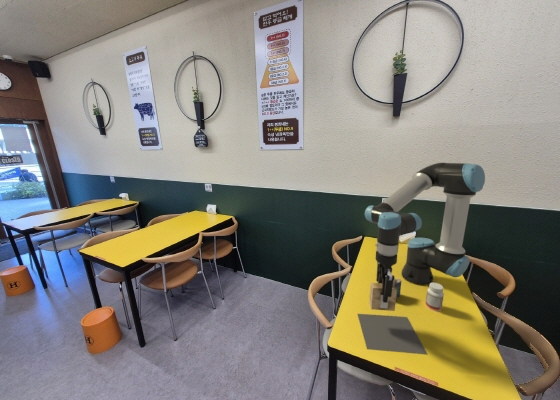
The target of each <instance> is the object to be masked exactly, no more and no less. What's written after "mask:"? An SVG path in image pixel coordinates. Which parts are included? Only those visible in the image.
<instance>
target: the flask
mask: <svg viewBox="0 0 560 400" xmlns="http://www.w3.org/2000/svg"><path fill="white" fill-rule="evenodd" d="M393 284H394V285H395V287H396V289H397V294H396V299H398V298H399V297H401V287H402V280H401V279H399V278H394V281H393Z"/></svg>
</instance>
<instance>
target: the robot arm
mask: <svg viewBox="0 0 560 400" xmlns="http://www.w3.org/2000/svg"><path fill="white" fill-rule="evenodd" d="M485 181H486V175H485V171H484V168H483V167H482V166H481V165H479V164H473V163H467V162H466V163H461V162H459V163H458V162H457V163H456V162H436V163H433V164H430V165H428V166H427V165H426V167H423V168H422V169H420V170H419V171H416V172H415V173H414V174H413V175H412V177H411V179H410V180H409V181H407V182H406V183H405V184H403V185H402V186H401V187H400V188H399V189H397V190H396V191H395V192H393V193H391V195H390V196H388V197H387V198H386V199H383V201H382V202H380V203H379V204H378V205H368V206H367V207H366V208H365V210H364V217H365V219H366V220H367V221H368V222H369V223H372V224H376V225H377V238H376V243H375V246H376V249H375V250H376V251H375V261H376V264H377V265H376V267H377V268H376V280H375V281H376V283H382V293H380V295H381V299H380V308H388V297H391V295H392V287H393V281H394V278H395V275H392V273H393V266H395V265H396V264H397V262H398V254H399V244H400V243H399V240H400V237H401V236H404V235H407V234H411V233H415V232H416V231H418V230H420V229H421V228H422V224H423V222H422V218H421V217H420V216H419V215H418V214H417V213H414V212H407V213H403V212H399V211H401V210H402V209H403V208H404V207H406V205H407V204H409V203H410V202H412V201H413V200H414V199H416V197H418V195H420V194H421V193H423V192H424V191H427V190H430V189H431V188H433V187H436V188H437V187H440V188H443V191H442V192H443V194H444V195H446V199H445V204H444V205H445V206H444V212H443V219H442V224H441V225H442V226H441V232H440V239H439V242H438V243H436V244H435V241H434V240H433V239H430V238H427V237H426V238H425V237H413V238H410V239H409V240H408V242H407V243H408V244H407V252H406V260H405V263H404V266H403V267H402V269H401V273H400V274H401V277H402V278H403V280H405V281H407V282H409V283H410V284H413V285H414V284H415V285H418V286H429V285H430V283H434V276H433V272H432V269H433V270H435V271H438V272H440V273H443V274H445V275H446V276H450V277H452V278H459V277H461V276H462V275H464V273H465V272H466V270H467V269H468V267H469V265H470V263H471V262H470V261H471V260H470V257H469V256H468V255H466V250H465V248H464V247H463V242H464V239H465V238H464V237H465V230H466V227H467V226H466V225H467V221H468V220H467V219H468V213H469V208H470V202H471V199H472V198H473V197H475V196H476V194H477V193H478V192H481V191H482V190H483V188H484V185H485ZM395 279H396V278H395Z"/></svg>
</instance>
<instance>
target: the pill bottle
mask: <svg viewBox="0 0 560 400" xmlns="http://www.w3.org/2000/svg"><path fill="white" fill-rule="evenodd" d="M444 296H445V293H444V287H443V285H442V284H440V283H439V282H432V283H430V285H428V288H427V291H426V297H425V298H426V299H425V307H427V308H428V309H429V310H430V311H434V312H440V311H441V310H443V309H442V308H443V301H444Z"/></svg>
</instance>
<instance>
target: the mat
mask: <svg viewBox="0 0 560 400" xmlns="http://www.w3.org/2000/svg"><path fill="white" fill-rule="evenodd" d="M357 317H358V321H359V326H360V329H361V333H362V336H363V340H364V343H365V347H366V350H371V351H372V350H374V351H382V352H383V351H384V352H395V353H407V354H417V355H428V352H427V350H426V348H425V347H424V345H423V343H422V342H421V339H420V337H419V335H418V334H417V332H416V330H415V329H414V327H413V325H412V323H411V321H410V320H409V318H408V316H398V315H382V314H369V313H357Z"/></svg>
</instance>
